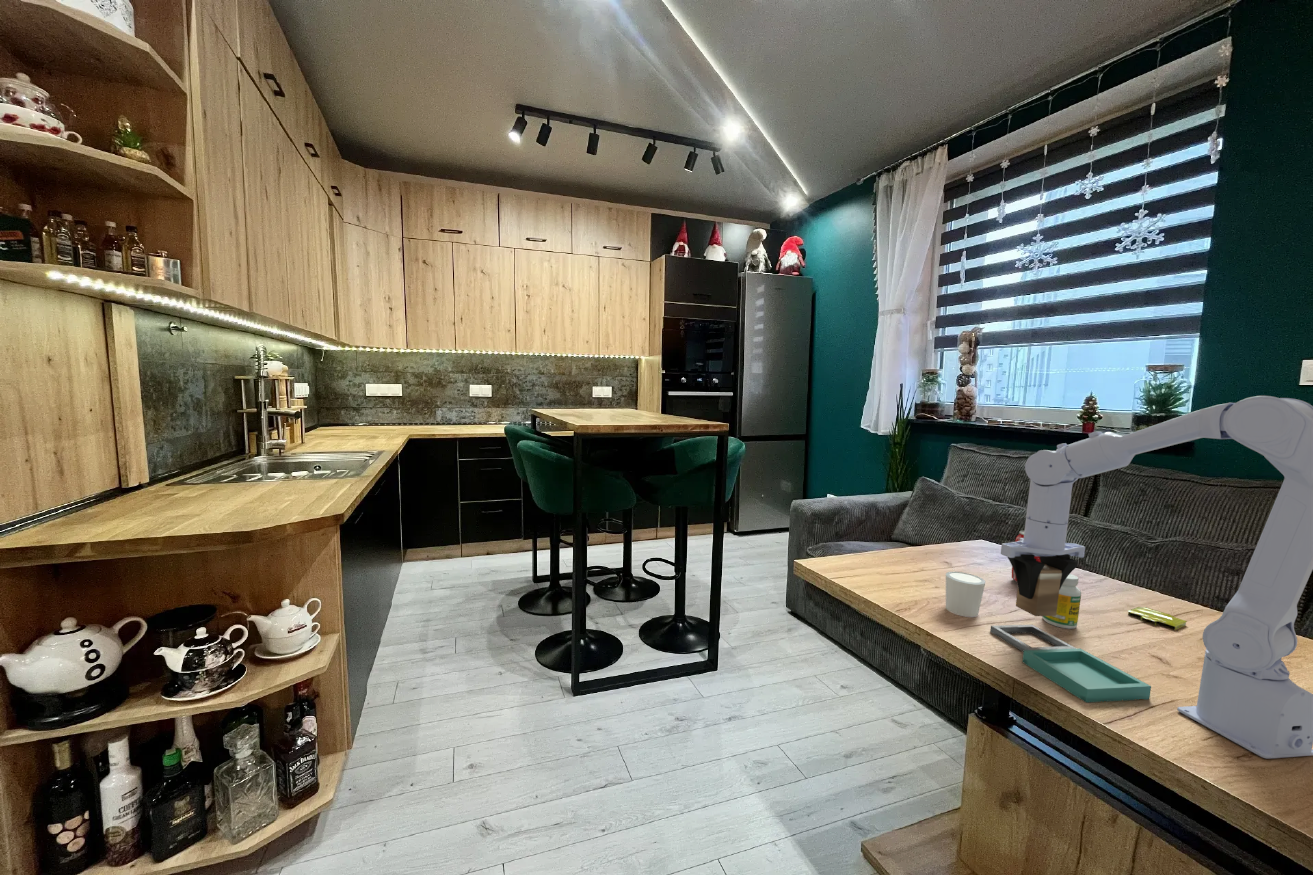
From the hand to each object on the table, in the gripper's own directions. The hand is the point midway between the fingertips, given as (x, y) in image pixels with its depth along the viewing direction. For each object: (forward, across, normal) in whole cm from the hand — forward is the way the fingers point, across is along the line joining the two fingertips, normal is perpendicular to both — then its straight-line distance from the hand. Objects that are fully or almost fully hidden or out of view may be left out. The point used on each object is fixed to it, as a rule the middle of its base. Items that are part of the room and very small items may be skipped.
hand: (1037, 596), depth 88 cm
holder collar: (+9, 0, 0) cm, 9 cm away
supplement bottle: (+9, -13, -7) cm, 17 cm away
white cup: (+9, +3, -13) cm, 16 cm away
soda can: (+9, -25, -26) cm, 37 cm away
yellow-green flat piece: (+10, -35, -7) cm, 37 cm away
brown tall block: (+3, 0, 0) cm, 3 cm away
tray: (+9, +2, +11) cm, 14 cm away
